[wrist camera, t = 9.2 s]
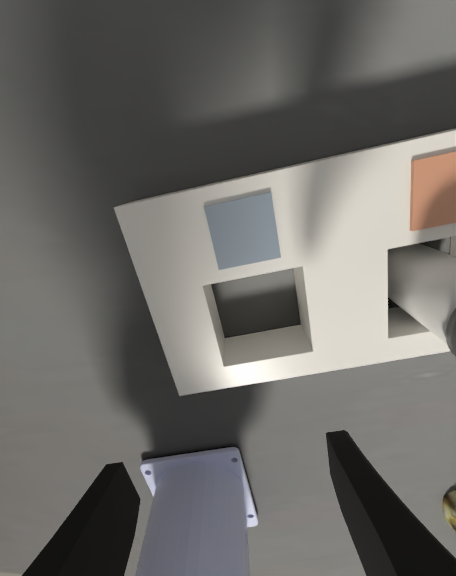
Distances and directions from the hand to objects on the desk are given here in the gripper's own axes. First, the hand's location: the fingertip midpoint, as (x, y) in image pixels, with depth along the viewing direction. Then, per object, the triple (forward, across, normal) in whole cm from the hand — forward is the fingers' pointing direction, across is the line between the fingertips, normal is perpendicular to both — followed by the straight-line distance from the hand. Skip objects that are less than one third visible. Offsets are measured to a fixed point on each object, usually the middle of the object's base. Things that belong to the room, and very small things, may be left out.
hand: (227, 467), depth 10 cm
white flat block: (+9, -7, -4) cm, 12 cm away
